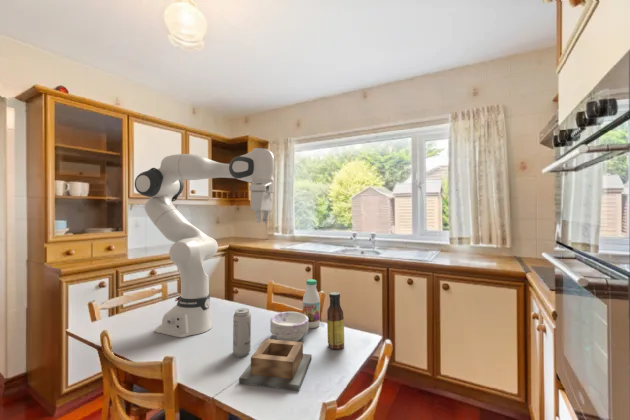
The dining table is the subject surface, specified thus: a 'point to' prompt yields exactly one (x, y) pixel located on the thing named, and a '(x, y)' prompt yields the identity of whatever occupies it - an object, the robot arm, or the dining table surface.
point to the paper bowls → (289, 326)
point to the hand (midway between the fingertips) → (262, 222)
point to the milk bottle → (311, 304)
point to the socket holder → (277, 365)
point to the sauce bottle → (335, 322)
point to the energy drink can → (241, 332)
